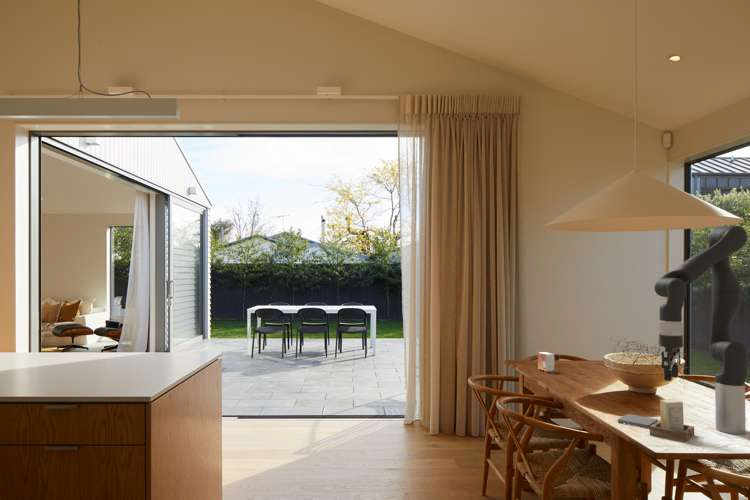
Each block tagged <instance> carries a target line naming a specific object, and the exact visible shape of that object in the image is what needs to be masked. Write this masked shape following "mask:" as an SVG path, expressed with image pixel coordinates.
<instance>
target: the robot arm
mask: <svg viewBox="0 0 750 500" xmlns="http://www.w3.org/2000/svg"><path fill="white" fill-rule="evenodd" d="M707 240H708V248H707V249H704V250H702V251H700V252H698V253H696V254H694V255H692V256H691V257H689V258H688V259H686V260H685V261H684V262H683V263H681V264H680V265H679V266H678V267H677V268H675V269H673V270H671V271H669V272H668V273H665V274H664V275H662V276H661V277H659V278H658V279H657V281H656V282H655V284H654V286H653V287H654V288H653V289H654V292H655V293H656V295H657V296H659V297H662V298H667V300H666V303H663V304H661V305H659V324H658V344H659V346H660V347H661V348H664V351H663V350H662V351H661V369H663V380H664V381H666V382H672V380H673V378H679V367H680V365H681V348H683V347H684V339H683V338H684V331H683V322H682V321H683V318H682V316H683V313H682V310H683V307H684V304H685V300H686V295H687V285H688V284H689V285H690V284H692V283H693V282H695V281H696V280H697V279H698V278H700V277H701V276H702V275H704V273H705V272H706V271H708V270H709V269H710V268H711V269H710V272H711V325H710V326H711V327H710V338H709V347H708V348H709V355H710V357H711V359H712V360H713V361H715V362H717V363H720V364H723V371H721V372H717V373H716V374H715V376H714V398H715V399H714V401H715V403H714V404H715V405H714V407H715V412H714V413H715V415H714V416H715V417H714V418H715V430H717V431H720V432H723V433H727V434H733V435H734V434H735V435H744V434H746V433H747V431H746V429H747V428H746V427H747V426H746V421H747V420H746V419H747V418H746V380H747V377H748V368H749V365H748V364H749V353H748V348H747V347H746V345H745V344H744V343H743V342H741V341H739V340H734V339H731V325H732V323H733V321H734V319H735V318H736V316H737V314H738V312H739V310H740V308H741V304H742V287H741V284H740V282H739V280H738V277H737V276H736V274H735V273H734V271H733V269H732V268H731V266H730V259H729V256H730V255H733V254H734V253H736V252H737V251H739V250H741V249H742V248H743V247H744V246H746V244H747V241H748V233H747V231H746V230H745V229H744V227H743V226H739V225H725V226H724V225H723V226H716V227H714V228H712V229H711V230H710V232H709V233H708V239H707Z"/></svg>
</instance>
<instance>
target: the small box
mask: <svg viewBox="0 0 750 500" xmlns="http://www.w3.org/2000/svg"><path fill="white" fill-rule="evenodd" d="M538 369H541V370H544V371H553V370H554V371H555V354H554V353H551V352H547V351H539V352H537V370H538Z"/></svg>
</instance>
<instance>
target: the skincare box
mask: <svg viewBox="0 0 750 500" xmlns="http://www.w3.org/2000/svg"><path fill="white" fill-rule="evenodd" d="M659 405H660V407H659V409H660V410H659V411H660V412H659V413H660V420H661V428H664V429H670V430H675V431H680V432H683V431H684V425H685V424H684V420H685V419H684V402H683V401H681V400H678V399H676V398H675V399H674V398H673V399H672V398H671V399H660V400H659Z"/></svg>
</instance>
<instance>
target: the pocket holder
mask: <svg viewBox="0 0 750 500" xmlns="http://www.w3.org/2000/svg"><path fill="white" fill-rule="evenodd" d="M649 436H652V437H657V438H662V439H668V440H673V441H676V442H682V443H687V442H688V441H689V440H690V439H692V438H693V437H694V436H695V426H693V425H688V424H684V431H683V432H680V431H675V430H670V429H664V428H661V419H658V421H657V422H656V423H654V424H653V425H651V426H650V428H649Z"/></svg>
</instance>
